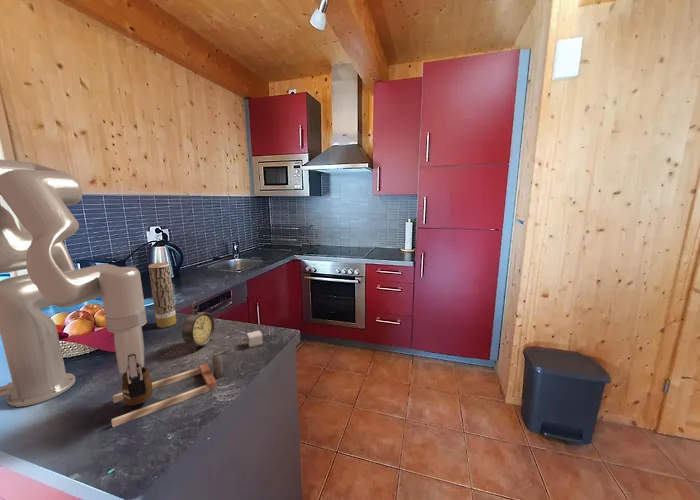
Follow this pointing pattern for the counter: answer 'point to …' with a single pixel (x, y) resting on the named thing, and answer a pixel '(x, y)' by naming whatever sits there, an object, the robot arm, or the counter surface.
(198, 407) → the counter surface
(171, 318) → the paper tube
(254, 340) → the usb wall charger
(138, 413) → the guide channel
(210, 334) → the alarm clock
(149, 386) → the utensil holder
